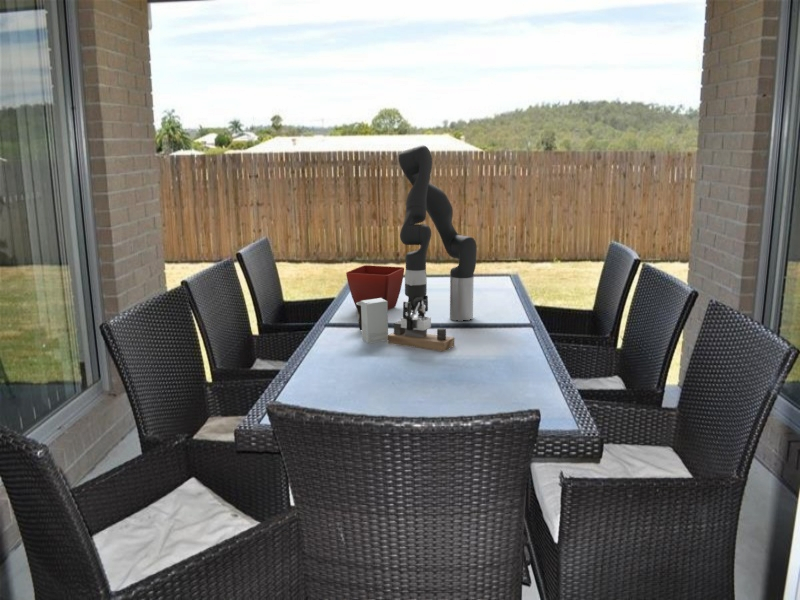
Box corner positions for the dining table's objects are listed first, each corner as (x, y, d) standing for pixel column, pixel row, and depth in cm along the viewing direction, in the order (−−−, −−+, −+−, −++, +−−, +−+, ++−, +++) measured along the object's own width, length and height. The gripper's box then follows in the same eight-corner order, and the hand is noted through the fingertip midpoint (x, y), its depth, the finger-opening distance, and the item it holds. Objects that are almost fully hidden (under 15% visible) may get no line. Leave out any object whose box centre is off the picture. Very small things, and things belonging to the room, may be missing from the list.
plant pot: (345, 311, 311) (345, 272, 307) (365, 302, 328) (364, 264, 324) (388, 315, 304) (387, 275, 300) (405, 305, 321) (405, 267, 317)
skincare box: (382, 337, 272) (381, 297, 269) (389, 341, 267) (388, 300, 263) (360, 339, 268) (360, 299, 265) (367, 344, 263) (366, 302, 260)
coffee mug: (376, 332, 278) (376, 306, 276) (354, 331, 280) (353, 305, 278) (383, 324, 289) (383, 299, 287) (361, 323, 291) (361, 298, 289)
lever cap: (408, 324, 266) (408, 314, 265) (430, 327, 262) (430, 317, 261) (400, 327, 261) (400, 317, 261) (423, 330, 257) (423, 320, 256)
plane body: (399, 337, 271) (398, 319, 269) (454, 345, 260) (454, 326, 259) (388, 343, 264) (387, 324, 262) (444, 351, 253) (444, 331, 252)
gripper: (415, 277, 266) (415, 321, 269) (396, 284, 254) (396, 330, 257) (434, 279, 262) (434, 324, 266) (415, 286, 250) (415, 333, 254)
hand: (415, 327), depth 262 cm, fingers open, 8 cm apart
